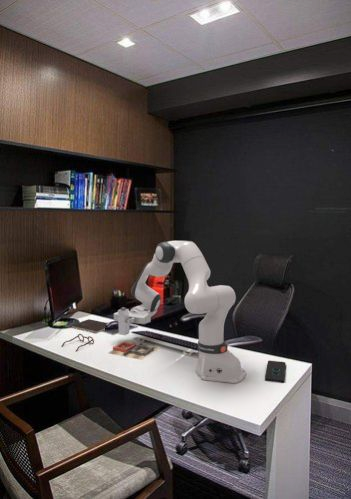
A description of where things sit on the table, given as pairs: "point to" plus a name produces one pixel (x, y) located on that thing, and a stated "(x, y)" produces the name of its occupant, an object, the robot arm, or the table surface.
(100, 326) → the hardcover book
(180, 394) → the table surface
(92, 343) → the glasses
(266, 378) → the smart home device
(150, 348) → the flat brown board
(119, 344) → the socket
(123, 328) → the lock bolt
